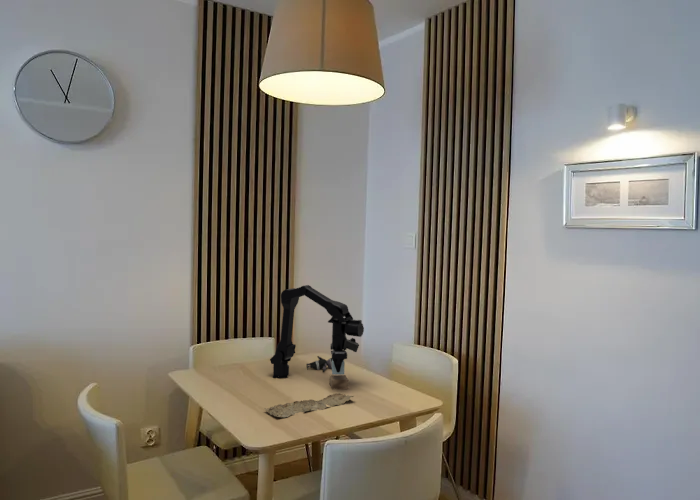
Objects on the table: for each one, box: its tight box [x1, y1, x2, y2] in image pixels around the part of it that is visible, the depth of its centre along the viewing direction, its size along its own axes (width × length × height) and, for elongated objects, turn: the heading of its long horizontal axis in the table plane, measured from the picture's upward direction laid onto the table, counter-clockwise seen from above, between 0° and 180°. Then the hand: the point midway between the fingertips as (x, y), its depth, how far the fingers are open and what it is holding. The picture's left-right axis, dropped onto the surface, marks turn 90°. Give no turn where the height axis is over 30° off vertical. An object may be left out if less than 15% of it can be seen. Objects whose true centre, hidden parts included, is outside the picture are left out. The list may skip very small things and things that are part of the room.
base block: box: [328, 374, 349, 390], centre depth 221 cm, size 7×7×4 cm
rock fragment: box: [264, 392, 354, 418], centre depth 195 cm, size 34×10×3 cm, turn 128°
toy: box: [306, 355, 332, 373], centre depth 248 cm, size 16×5×15 cm
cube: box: [331, 359, 346, 375], centre depth 221 cm, size 5×5×5 cm
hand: (337, 370), depth 221 cm, fingers closed on cube, 5 cm apart
